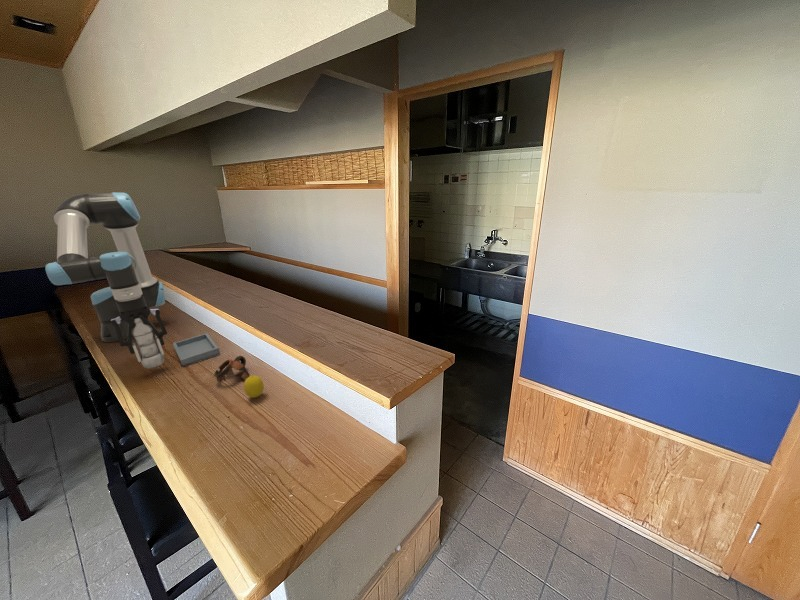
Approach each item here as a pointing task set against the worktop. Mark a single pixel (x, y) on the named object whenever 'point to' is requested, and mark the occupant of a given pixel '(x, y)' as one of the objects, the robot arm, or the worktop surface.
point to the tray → (196, 349)
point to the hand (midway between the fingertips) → (151, 356)
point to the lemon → (253, 386)
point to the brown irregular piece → (228, 369)
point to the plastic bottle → (146, 344)
